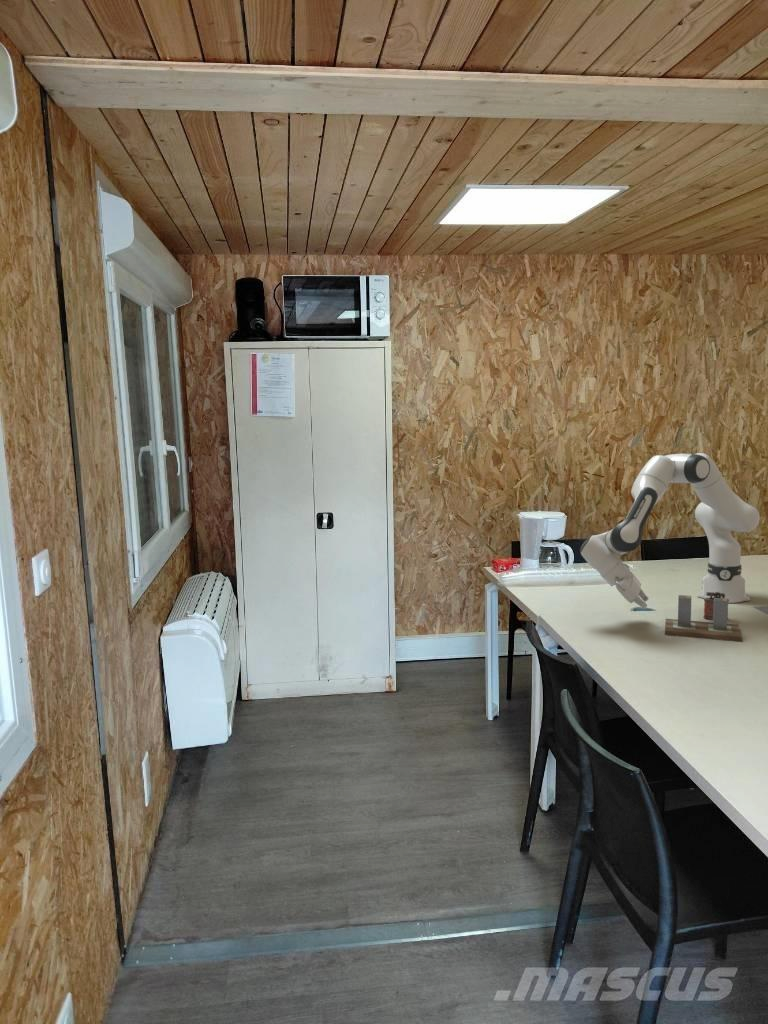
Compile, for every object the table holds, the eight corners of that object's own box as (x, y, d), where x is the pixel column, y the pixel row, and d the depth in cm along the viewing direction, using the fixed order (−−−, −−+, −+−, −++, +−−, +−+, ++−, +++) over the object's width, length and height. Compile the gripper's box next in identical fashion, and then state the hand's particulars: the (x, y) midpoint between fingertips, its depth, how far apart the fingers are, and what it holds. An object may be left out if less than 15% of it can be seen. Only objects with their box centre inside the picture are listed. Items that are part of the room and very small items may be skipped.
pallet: (665, 622, 236) (665, 618, 236) (738, 628, 227) (738, 623, 227) (664, 634, 224) (664, 629, 224) (741, 641, 214) (741, 636, 214)
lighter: (726, 618, 239) (727, 591, 238) (729, 620, 236) (730, 593, 235) (702, 617, 241) (703, 590, 240) (704, 619, 238) (705, 592, 237)
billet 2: (712, 626, 226) (713, 597, 224) (726, 627, 224) (727, 597, 223) (713, 629, 222) (714, 600, 221) (726, 630, 220) (727, 601, 219)
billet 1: (677, 622, 230) (678, 594, 229) (690, 623, 229) (691, 595, 227) (677, 626, 227) (678, 597, 225) (690, 627, 225) (691, 598, 224)
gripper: (621, 575, 224) (652, 605, 221) (626, 563, 242) (654, 591, 239) (607, 587, 226) (637, 617, 223) (613, 574, 245) (641, 601, 242)
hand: (646, 603), depth 232 cm, fingers open, 8 cm apart
